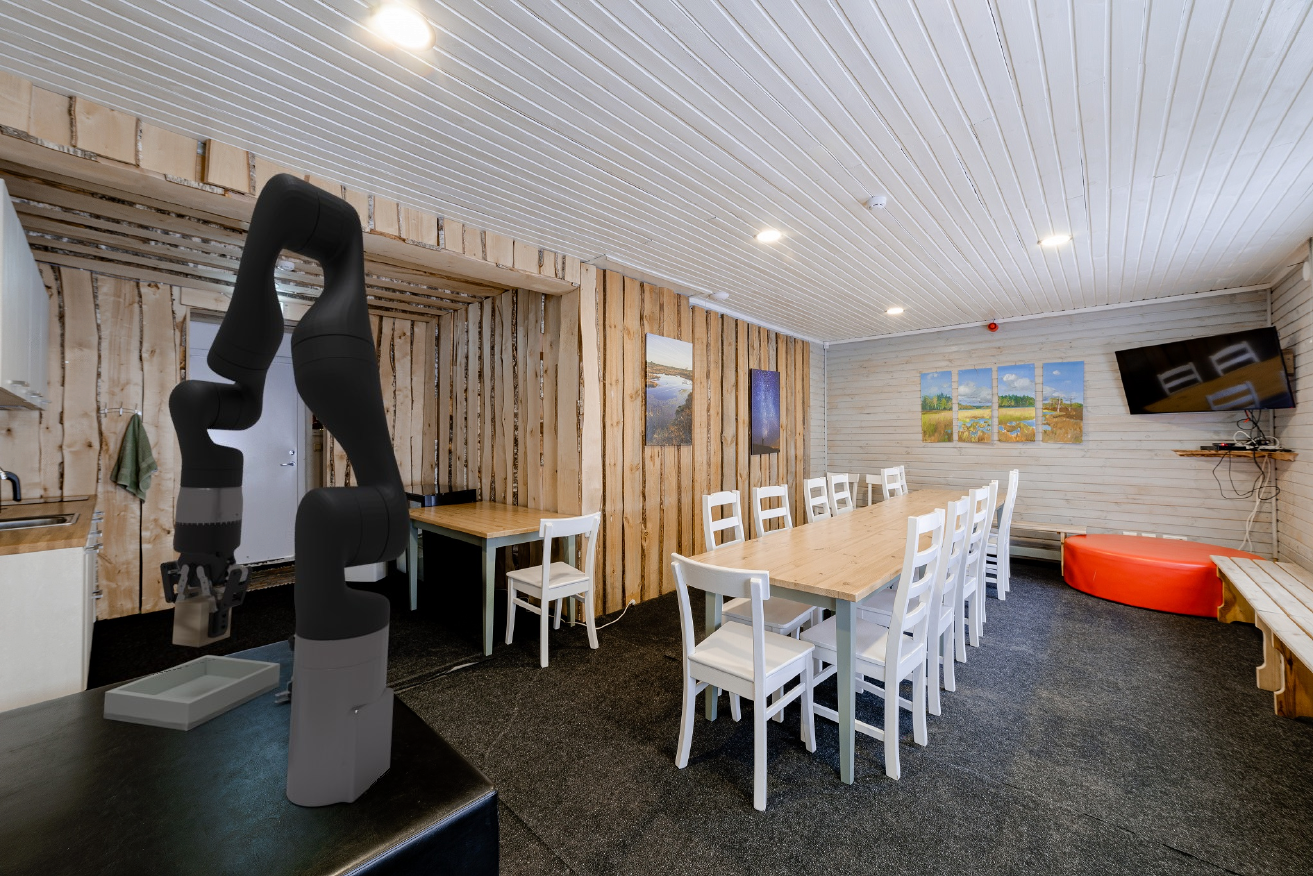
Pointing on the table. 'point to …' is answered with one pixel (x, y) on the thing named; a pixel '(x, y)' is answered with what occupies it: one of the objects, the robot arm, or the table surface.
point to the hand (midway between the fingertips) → (202, 633)
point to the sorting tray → (191, 692)
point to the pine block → (194, 622)
